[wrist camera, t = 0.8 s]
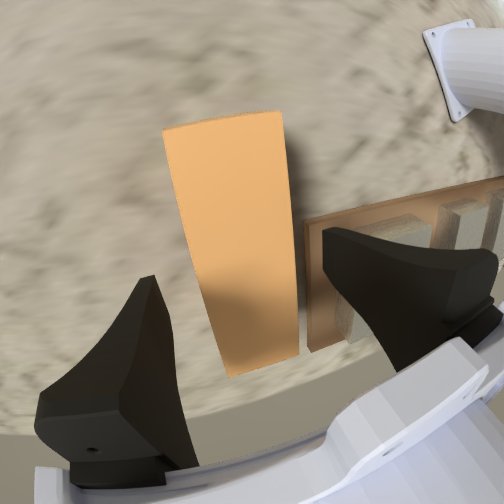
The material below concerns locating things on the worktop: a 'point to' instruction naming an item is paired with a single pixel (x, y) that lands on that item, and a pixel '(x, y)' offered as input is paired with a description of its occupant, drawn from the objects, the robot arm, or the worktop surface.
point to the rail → (446, 237)
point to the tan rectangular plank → (239, 232)
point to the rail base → (419, 205)
